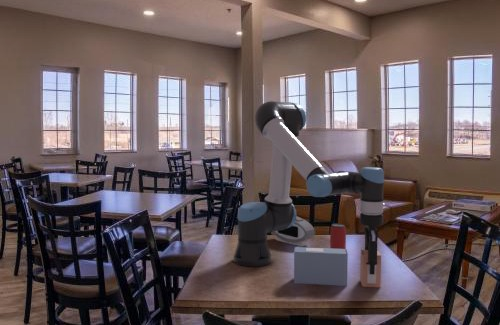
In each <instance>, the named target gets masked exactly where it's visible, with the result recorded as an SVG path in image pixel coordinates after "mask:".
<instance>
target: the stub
mask: <svg viewBox="0 0 500 325" xmlns="http://www.w3.org/2000/svg"><path fill="white" fill-rule="evenodd" d="M366 263H368V250H365V249H360V264H359V265H360V267H359V268H360V270H359V271H360V272H359V274H360V275H359V281H360V284H361V287H366V288H367V287H368V288H381V280H382V279H381V278H382V275H381V274H382V254H381V252H380V251H379V249H377V265H376V284H375V283H367V265H368V264H366Z"/></svg>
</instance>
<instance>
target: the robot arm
mask: <svg viewBox="0 0 500 325" xmlns="http://www.w3.org/2000/svg"><path fill="white" fill-rule="evenodd" d="M254 122H255V126H256V128H257V130H258V131H259V132H260V133H261V135H262V136H263V137H264V138H265V139H269V140H270V141H271V142H272V144H273V145H272V156H271V165H270V166H271V167H270V177H269V189H268V194H267V196H265V197H264V202H262V201H254V202H252V201H251V202H246V203H243V204H242V205H240V206H239V207H238V211H237V245H236V248H235V251H234V254H233V262H234V263H235V264H236V265H239V266H242V267H251V268H252V267H253V268H255V267H262V266H267V265H269V264H271V262H272V254H271V252H270V248H269V245H268V240H267V239H268V237H267V236H268V235H267V234H269V233H272V232H274V231H279V230H284V229H286V228H289V227H291V226H292V225H293V224H294V222H295V220H296V216H297V209H296V208H295V207H296V206H295V205H294V204H293V199H292V198H291V197H290V190H291V179H292V171H293V170H292V169H293V167H294V169H295V170H296V171H297V172H298V173H299V175H301V176H302V177H303V179H304V180H305V181H306V182H305V183H306V184H305V185H306V188H307V192H308V193H309V195H310V196H312V197H314V198H326V197H328V196H334V195H342V194H357V195H359V196H360V197H359V212H360V214H359V223H360V225H362V226H364V250H368V263H366V264H368V265H367V283H375V284H376V265H377V250H378V239H379V231H378V230H377V227H381V226H382V225H383V224H384V215H383V213H384V207H386V204H385V203H384V185H385V176H384V175H385V174H384V169H383V168H382V167H376V166H375V167H373V166H366V167H365V166H364V167H362V168H361V169H360V171H359V172H358V171H357V172H356V171H348V170H335V171H333V172H329V171H328V170H327V169H326V168H325V167H324V166H323V165H322V164H321V163H320V161H318V159H316V158H315V156H314V155H313V154H312V153H311V152H310V151H309V150H308V149H307V147H305V145H304V144H303V143H302V142H301V141H300V140H299V139H298V138H299V137H300V136H299V135H300V131H302V130H303V129H304V128H305V127H306V123H307V114H306V112H305V110H304V108H303V107H302V105H300V104H299V103H296V102H291V101H290V102H289V101H288V102H287V101H266V102H263V103H262V104H260V105H259V106H258V108H257V109H256V111H255V115H254Z"/></svg>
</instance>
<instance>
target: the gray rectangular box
mask: <svg viewBox="0 0 500 325" xmlns="http://www.w3.org/2000/svg"><path fill="white" fill-rule="evenodd" d="M293 250H294V251H293V252H294V253H293V284H295V285H298V284H305V285H322V286H323V285H324V286H342V287H343V286H344V287H347V286H348V260H349V258H348V255H349V254H348V250H347V248H346V249H333V248H330V247H327V248H326V247H307V246H303V247H300V246H294V249H293Z"/></svg>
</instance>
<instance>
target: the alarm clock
mask: <svg viewBox="0 0 500 325" xmlns="http://www.w3.org/2000/svg"><path fill="white" fill-rule="evenodd" d="M315 232H316V231H315V228H314V227H313V225H312V224H311V223H310V222H309V221H307V220H305V219H303V218H301V217H300V216H297V215H296V220H295V222H294V224H293V225H292V226H291V227H289V228H286V229H284V230H279V231H274V232H271V234H273V235H274V236H275V240H276V241H277V242H282V243H286V244H290V245H294V246H296V247H307V246H309V241H308V240H310V239H313V237H314V236H315V234H316V233H315Z"/></svg>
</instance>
